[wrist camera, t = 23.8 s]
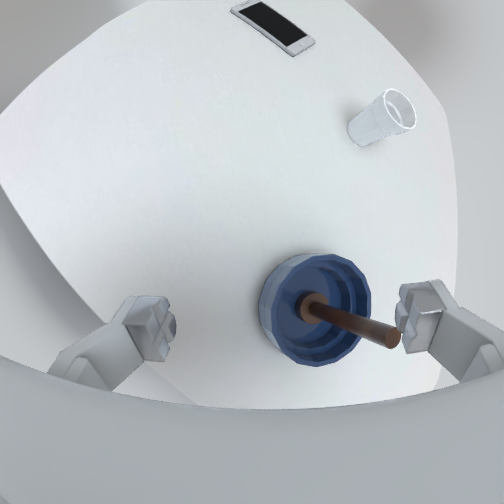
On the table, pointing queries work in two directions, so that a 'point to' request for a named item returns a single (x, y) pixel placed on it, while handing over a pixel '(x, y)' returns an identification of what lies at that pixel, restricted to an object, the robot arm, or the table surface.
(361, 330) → the stick
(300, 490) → the robot arm
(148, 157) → the table surface
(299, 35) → the smartphone
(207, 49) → the table surface
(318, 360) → the bowl
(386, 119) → the cup
